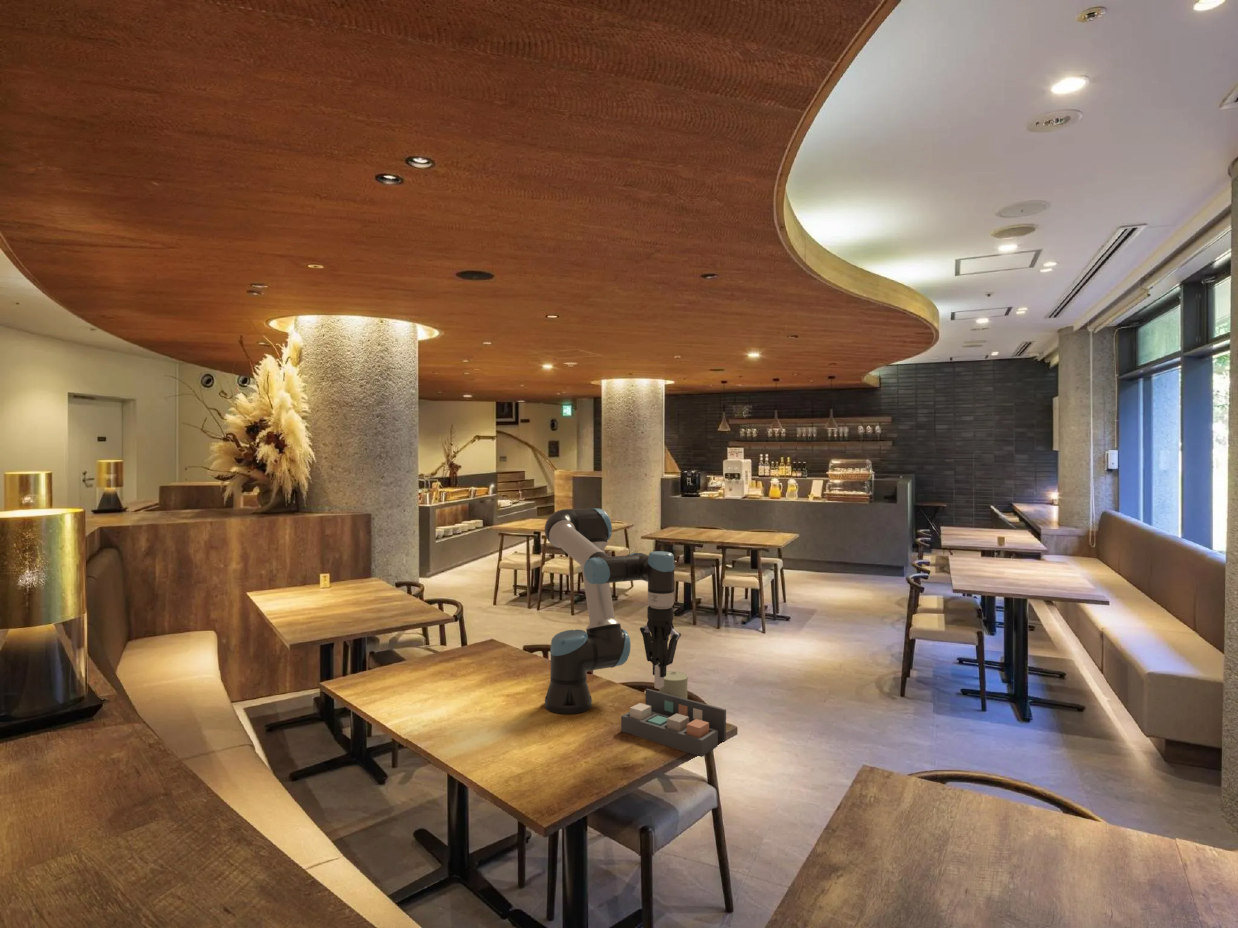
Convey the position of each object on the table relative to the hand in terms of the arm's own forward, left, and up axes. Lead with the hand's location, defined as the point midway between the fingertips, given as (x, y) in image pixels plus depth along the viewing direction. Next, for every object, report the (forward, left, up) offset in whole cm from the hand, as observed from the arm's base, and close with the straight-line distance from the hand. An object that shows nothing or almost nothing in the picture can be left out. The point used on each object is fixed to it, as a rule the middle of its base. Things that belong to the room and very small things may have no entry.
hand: (659, 687), depth 198 cm
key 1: (-6, 0, -11) cm, 13 cm away
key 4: (+13, 0, -11) cm, 17 cm away
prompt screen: (+3, +8, -14) cm, 17 cm away
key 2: (0, 0, -13) cm, 13 cm away
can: (-7, +18, -14) cm, 24 cm away
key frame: (+3, 0, -14) cm, 14 cm away
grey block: (+7, 0, -11) cm, 13 cm away
